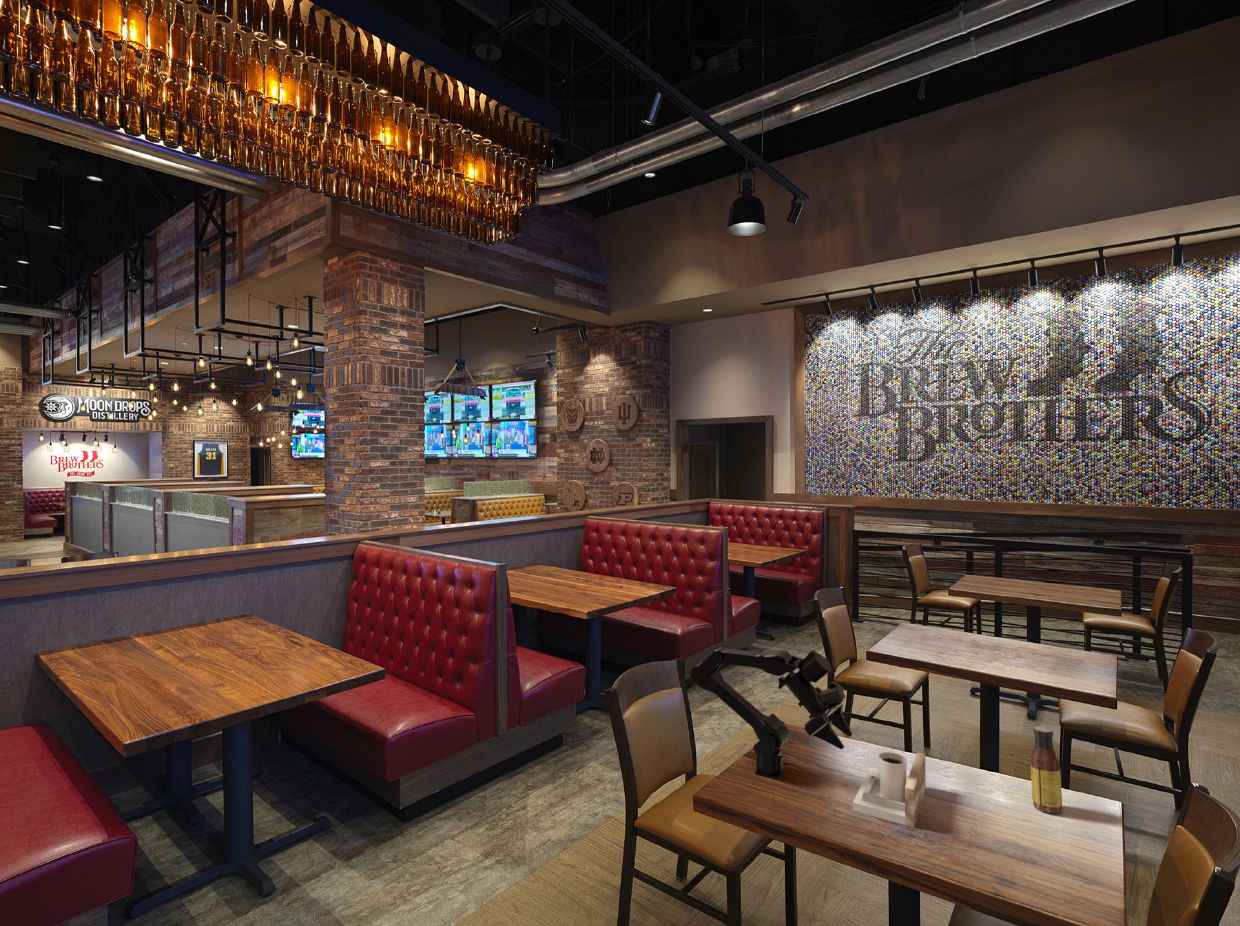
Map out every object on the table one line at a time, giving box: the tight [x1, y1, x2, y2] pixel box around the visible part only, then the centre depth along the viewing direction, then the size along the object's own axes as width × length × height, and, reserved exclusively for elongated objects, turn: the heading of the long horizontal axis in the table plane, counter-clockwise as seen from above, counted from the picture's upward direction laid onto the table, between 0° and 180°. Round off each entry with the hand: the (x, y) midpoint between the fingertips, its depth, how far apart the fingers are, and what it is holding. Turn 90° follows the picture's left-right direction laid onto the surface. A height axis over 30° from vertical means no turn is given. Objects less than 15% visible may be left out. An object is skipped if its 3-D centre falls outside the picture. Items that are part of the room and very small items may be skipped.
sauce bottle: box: [1030, 725, 1063, 815], centre depth 157 cm, size 7×6×20 cm
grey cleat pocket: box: [852, 767, 909, 826], centre depth 162 cm, size 12×22×4 cm, turn 147°
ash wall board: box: [904, 752, 927, 828], centre depth 158 cm, size 2×22×9 cm, turn 147°
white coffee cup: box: [878, 751, 908, 803], centre depth 159 cm, size 7×7×10 cm
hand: (847, 741), depth 165 cm, fingers open, 9 cm apart
